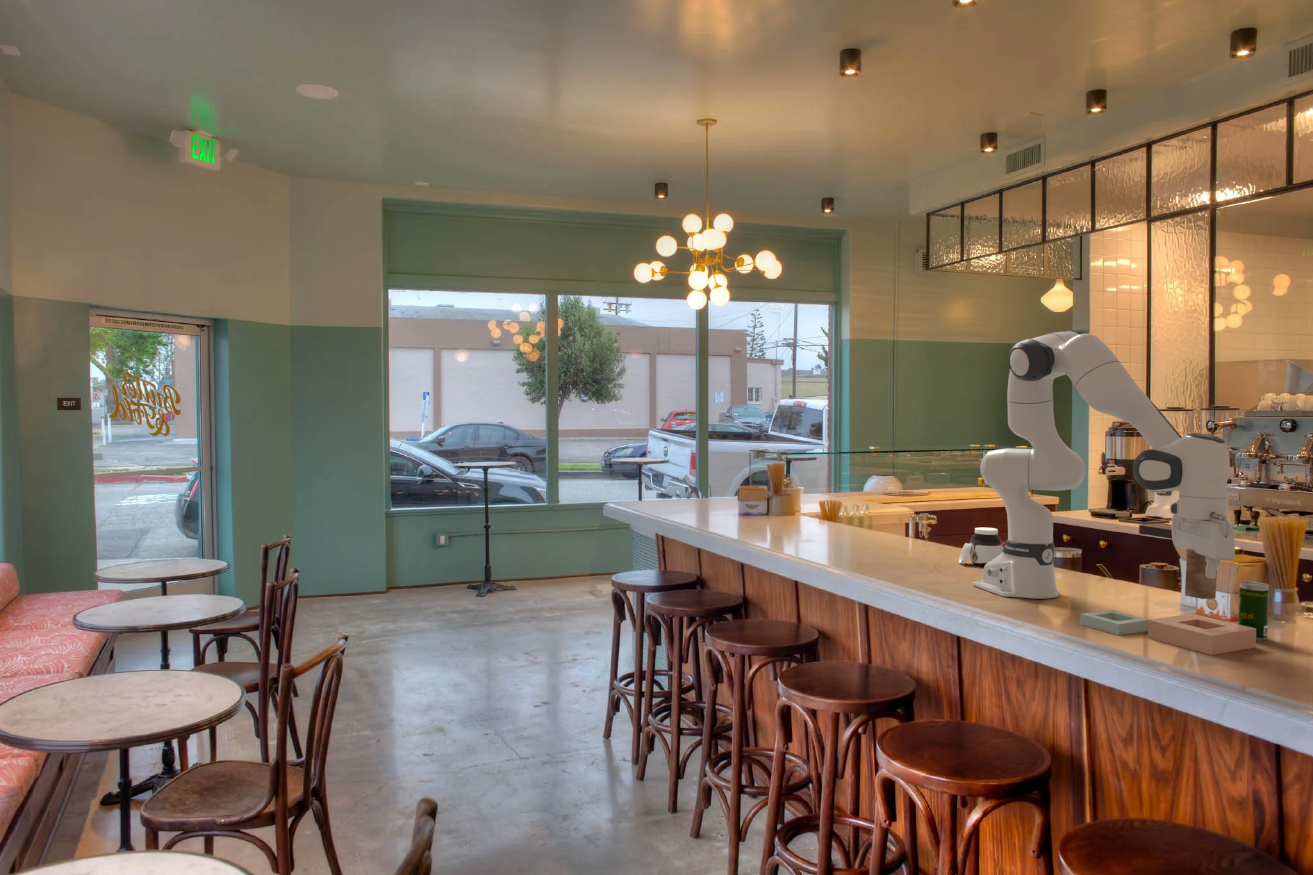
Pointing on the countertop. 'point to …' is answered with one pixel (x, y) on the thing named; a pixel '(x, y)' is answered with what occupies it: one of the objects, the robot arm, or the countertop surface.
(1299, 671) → the countertop surface
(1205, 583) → the plug
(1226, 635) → the socket block
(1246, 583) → the beer can
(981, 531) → the spread jar
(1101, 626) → the green square frame
